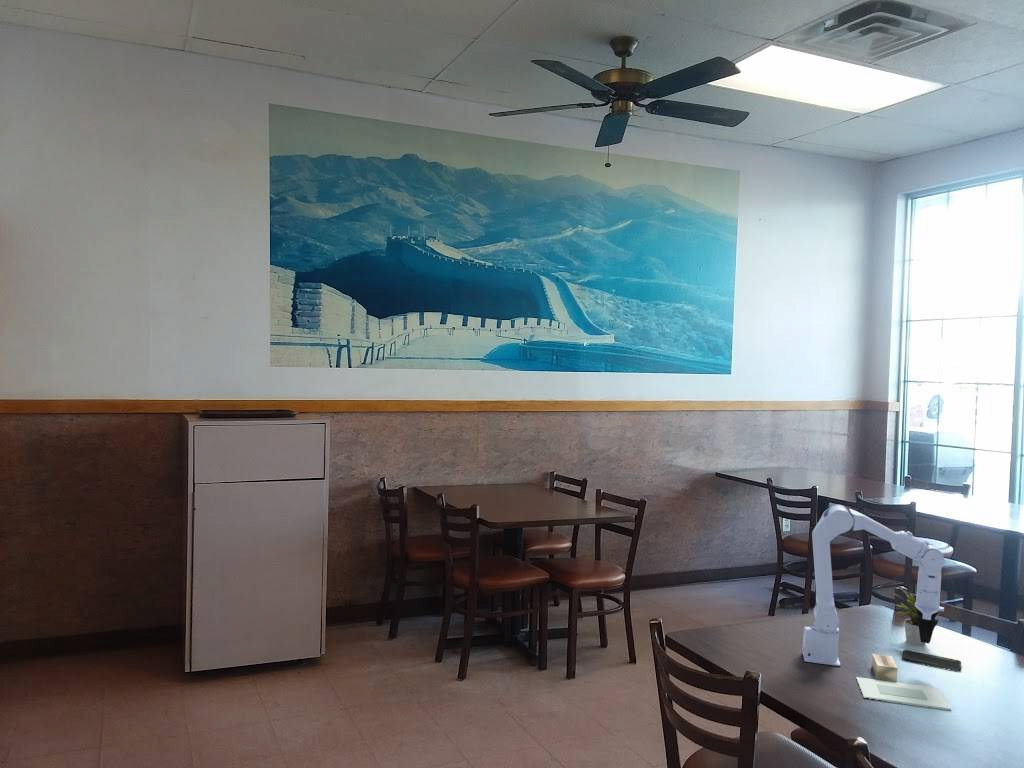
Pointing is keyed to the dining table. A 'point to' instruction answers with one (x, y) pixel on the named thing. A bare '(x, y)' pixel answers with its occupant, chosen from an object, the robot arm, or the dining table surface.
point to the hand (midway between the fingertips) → (925, 638)
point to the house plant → (911, 621)
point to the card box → (884, 667)
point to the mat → (902, 693)
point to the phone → (931, 660)
